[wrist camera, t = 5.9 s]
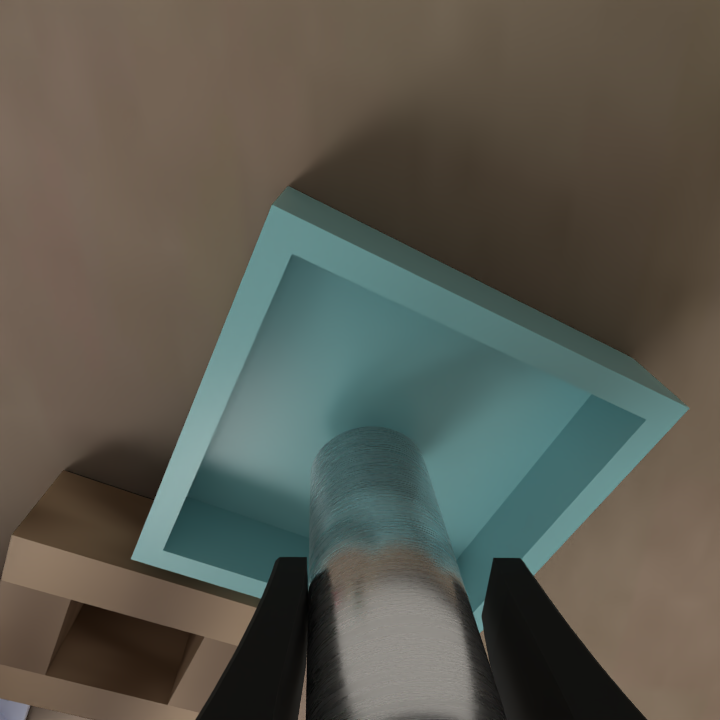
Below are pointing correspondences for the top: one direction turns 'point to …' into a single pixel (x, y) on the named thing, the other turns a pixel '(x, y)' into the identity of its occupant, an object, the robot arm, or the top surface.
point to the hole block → (108, 614)
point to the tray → (393, 406)
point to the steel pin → (387, 592)
